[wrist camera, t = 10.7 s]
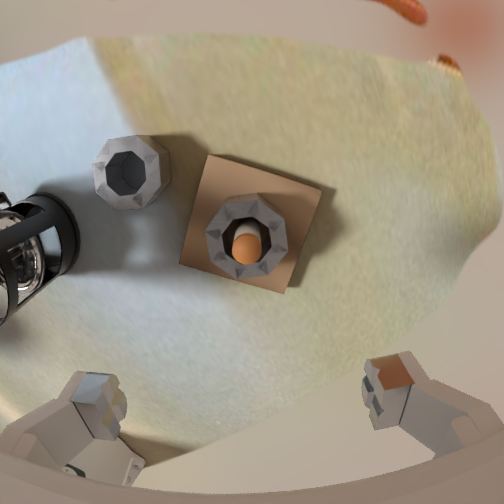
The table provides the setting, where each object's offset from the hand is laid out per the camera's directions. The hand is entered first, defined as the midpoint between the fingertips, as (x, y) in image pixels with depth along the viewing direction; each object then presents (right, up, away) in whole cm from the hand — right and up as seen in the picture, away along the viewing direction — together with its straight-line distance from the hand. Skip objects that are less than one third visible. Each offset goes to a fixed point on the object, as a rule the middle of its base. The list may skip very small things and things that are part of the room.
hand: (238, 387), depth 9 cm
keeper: (0, +7, +20) cm, 21 cm away
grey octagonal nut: (0, +6, +18) cm, 19 cm away
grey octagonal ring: (-10, +12, +18) cm, 24 cm away
